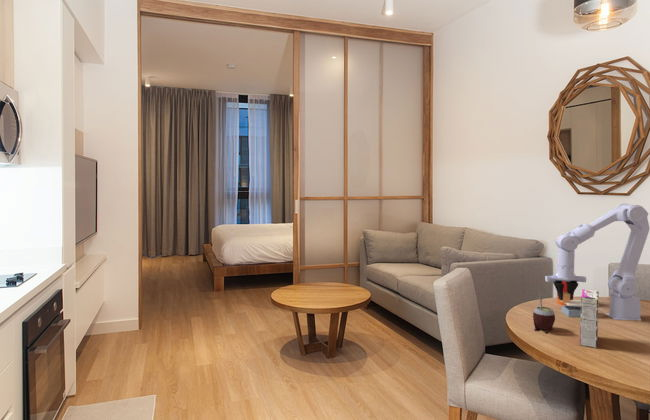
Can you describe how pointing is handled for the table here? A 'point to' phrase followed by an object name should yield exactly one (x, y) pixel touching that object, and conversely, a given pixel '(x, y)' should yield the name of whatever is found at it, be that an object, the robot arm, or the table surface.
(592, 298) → the candy bar box
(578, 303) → the lid
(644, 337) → the table surface
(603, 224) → the robot arm
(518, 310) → the table surface
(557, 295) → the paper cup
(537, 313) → the mate gourd
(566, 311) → the tub
